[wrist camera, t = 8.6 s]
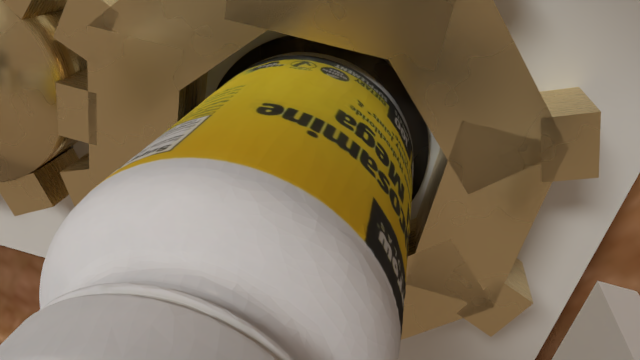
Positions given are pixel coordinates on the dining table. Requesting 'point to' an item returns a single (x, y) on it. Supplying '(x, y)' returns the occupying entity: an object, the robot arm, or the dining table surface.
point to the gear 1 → (39, 105)
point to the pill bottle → (242, 231)
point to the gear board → (563, 196)
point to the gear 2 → (408, 92)
